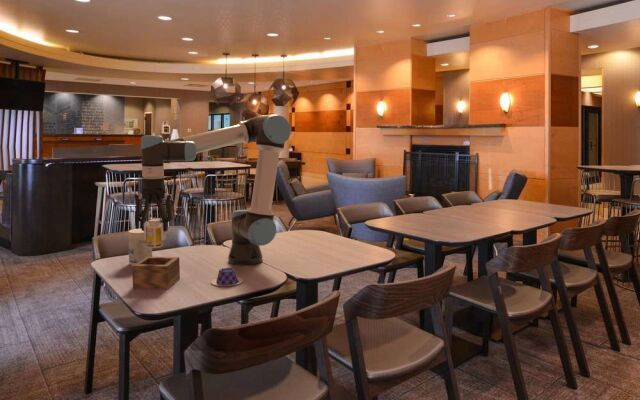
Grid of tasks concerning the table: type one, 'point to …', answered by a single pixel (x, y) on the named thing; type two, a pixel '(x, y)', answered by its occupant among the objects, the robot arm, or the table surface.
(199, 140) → the robot arm
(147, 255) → the supplement tub
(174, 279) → the open walnut box
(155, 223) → the supplement bottle
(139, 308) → the table surface
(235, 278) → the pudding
